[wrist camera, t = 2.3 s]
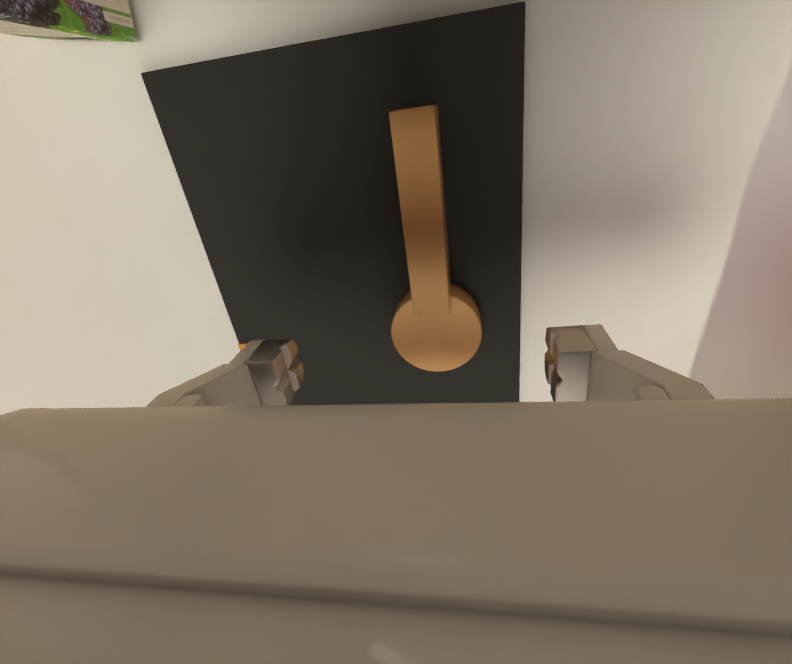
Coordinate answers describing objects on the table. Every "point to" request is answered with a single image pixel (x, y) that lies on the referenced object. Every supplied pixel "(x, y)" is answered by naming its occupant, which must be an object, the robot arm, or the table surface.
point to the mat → (357, 195)
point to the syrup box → (68, 19)
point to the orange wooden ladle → (428, 252)
